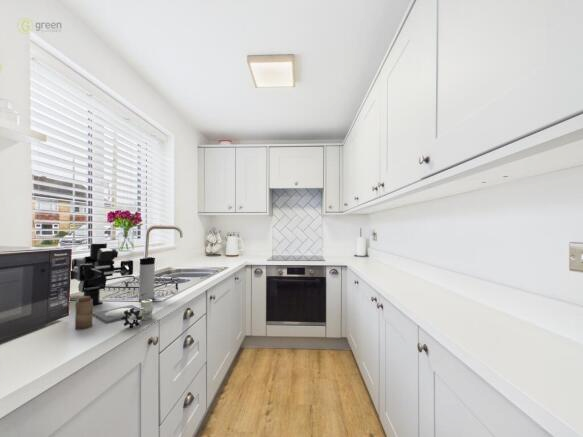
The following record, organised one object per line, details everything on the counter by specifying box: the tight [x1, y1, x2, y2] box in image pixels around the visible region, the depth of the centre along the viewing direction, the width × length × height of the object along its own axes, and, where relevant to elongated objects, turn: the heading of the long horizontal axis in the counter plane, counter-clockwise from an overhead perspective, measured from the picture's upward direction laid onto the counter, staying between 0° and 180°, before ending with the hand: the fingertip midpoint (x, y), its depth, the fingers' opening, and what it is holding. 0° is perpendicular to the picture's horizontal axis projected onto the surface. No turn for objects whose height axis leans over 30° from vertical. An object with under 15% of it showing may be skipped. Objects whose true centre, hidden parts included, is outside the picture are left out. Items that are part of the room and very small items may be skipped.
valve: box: [121, 299, 154, 329], centre depth 97 cm, size 7×7×12 cm
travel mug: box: [138, 256, 156, 302], centre depth 126 cm, size 6×7×20 cm
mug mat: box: [92, 304, 141, 324], centre depth 105 cm, size 14×14×1 cm
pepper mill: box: [74, 295, 94, 331], centre depth 92 cm, size 5×5×10 cm
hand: (115, 272), depth 103 cm, fingers open, 9 cm apart
